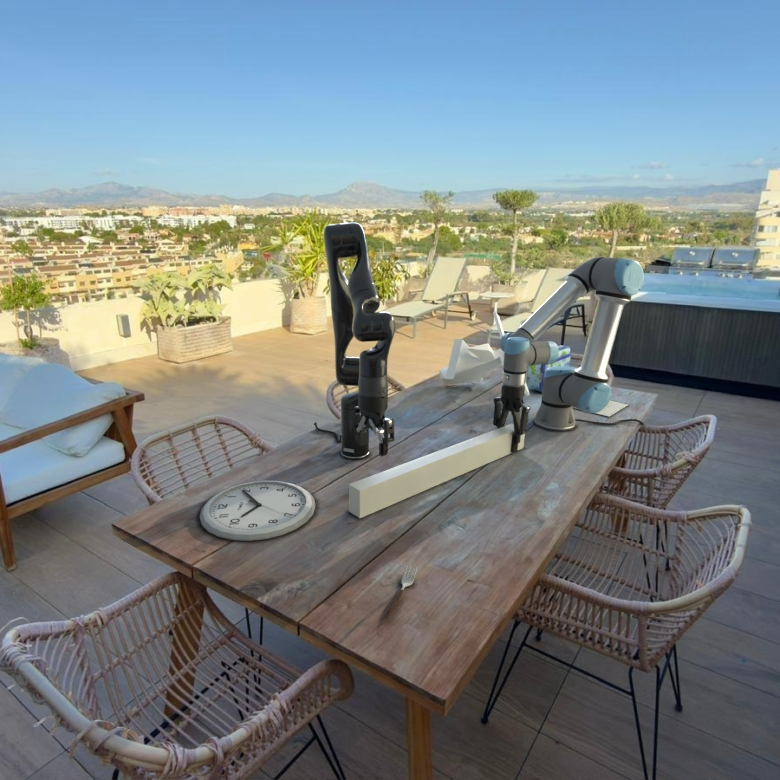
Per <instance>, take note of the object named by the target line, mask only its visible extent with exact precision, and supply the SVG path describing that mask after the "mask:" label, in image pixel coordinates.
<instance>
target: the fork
mask: <svg viewBox="0 0 780 780" xmlns="http://www.w3.org/2000/svg"><path fill="white" fill-rule="evenodd" d="M408 566H409V565H408V563H407V564H406V567H405V570H404V572H403V575H402V578H401V580H400V581H401V583H400V584H401V585H402V587H401V588H400V590H399V591H398V593H397V594H396V596H395V597H394V599H393V600H392V604H391V606H390V608H389V611H388V614H387V616H386V620H388V619H389V618H390V617H391V615H392V613H393V612H394V610H395V609H396V607H397V606H398V605H399V604H400V601H401V598H402V595H403V592H404V590H405V588H407V587H409V586H412V585H413V583H414V581H415V578H416V573H417V569H418V566H416V567H415V566H414V565H411V564H410V566H409V568H408ZM411 566H412V569H411ZM414 567H415V570H414ZM410 571H411V572H410Z"/></svg>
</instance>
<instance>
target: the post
mask: <svg viewBox="0 0 780 780" xmlns="http://www.w3.org/2000/svg"><path fill="white" fill-rule="evenodd" d="M514 433H515V432H514V424H513V422H512V423H510V424H508V425H505V426H504V427H501V428H499V429H498V428H496V429H493V430H491V431H488V432H485V433H482V434H479V435H478V436H474V437H472V438H468V439H467V440H464V441H461V442H458V443H456V444H453V445H450V446H448V447H444V448H442V449H439V450H436V451H434V452H432V453H429V454H426V455H423V456H421V457H418V458H415V459H412V460H410V461H408V462H407V461H406V462H404V463H402V464H400V465H396V466H394V467H391V468H388V469H386V470H383V471H381V472H378V473H375V474H372V475H370V476H367V477H365V478H361V479H359V480H356V481H353V482H351V483H348V512H349V513H351V514H352V515H354V516H356V517H357V518H358V519H362V518H365V517H367V516H370V515H372V514H374V513H376V512H379V511H380V510H383V509H386V508H388V507H391V506H392V505H395V504H397V503H400V502H402V501H404V500H406V499H409V498H410V497H413V496H416V495H418V494H420V493H422V492H424V491H427V490H430V489H432V488H434V487H437V486H439V485H441V484H444V483H446V482H448V481H451V480H452V479H455V478H457V477H459V476H461V475H464V474H467V473H468V472H471V471H474V470H476V469H478V468H480V467H483V466H485V465H487V464H489V463H493V462H494V461H496V460H499V459H501V458H504V457H507V456H509V455H511V454H513V453H512V452H511V444H512V434H514ZM525 436H526V433H525V434H523V435H521V438H520V443H518V449H517V451H520V450H522V449H524V446H525V438H526V437H525ZM517 451H516V452H517Z"/></svg>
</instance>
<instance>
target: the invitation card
mask: <svg viewBox="0 0 780 780" xmlns="http://www.w3.org/2000/svg"><path fill="white" fill-rule="evenodd" d="M628 406H629V404H627V403H623V402H618V401H614V400H610V401H609V403H608V404H607V405H606V407H605V408H603V409H602V410H601V411H599V412H597V413H595V414H596V415H600V416H604V417H608V418H609V417H611V416H613V415H614V414H616V413H617V412H619V411H621V410H623V409H624V408H626V407H628ZM573 409H575V410H579V409H578V408H575V407H573Z"/></svg>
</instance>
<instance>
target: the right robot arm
mask: <svg viewBox="0 0 780 780" xmlns="http://www.w3.org/2000/svg"><path fill="white" fill-rule="evenodd" d="M563 281H564V283H562V284H561V285H560V286H559V287H558V289H556V290H555V292H553V293H552V294H551V296H549V297H548V298H547V299H546V300H545V301H544V302H543V303H542V304H541V305H540V306H539V307H538V308H537V309H536V310H535V311H534V312H533V313H532V315H530V316H529V317H528V318H527V319H526V320H525V321H524V322H523V323H522V324H521V325H520V326H519V327H518V328H517V329H515V331H514V332H505V333H504V335H503V336H502V338H500V340H499V347H500V348H501V350H502V351H504V366H503V367H502V378H501V379H502V380H501V381H502V382H501V383H502V384H501V388H500V390H501V391H500V394H501V396H498V397H494V398H493V405H494V406H493V407H494V408H493V418H492V419H493V420H492V425H493V426H495V427H496V429H499V428H501V427H504V426H506V422H507V419H508V416H509V413H511V416H512V423H513V424H514V432H515V433H514V434H512V444H511V452H512V453H511V454H513V453H515V452H517V449H518V443H520V438H521V435H523V434H525V435H526V434H527V432H528V423H529V413H530V411H531V406H530V405H526V404H525V401H524V397H525V393H524V391H525V386H524V384H525V382H526V383H527V370H528V366H530V365H540V364H548V363H553V362H555V361H556V360H557V358H558V356H559V349H558V346H557V345H558V344H557V343H556V342H554V341H553V340H543V341H541V340H538V339H539V338H541V336H542V335H543V334H544V333H545V332H546V331H548V329H550V327H551V326H552V325H553V324H555V322H556V321H557V320H558V319H559V318H560V317H562V316H563V314H565V312H567V311H568V309H569V308H571V306H572V305H574V303H575V302H576V301H578V299H580V298H584V297H586V296H587V295H588V294H589V293H591V292H593V291H595V292H594V296H595V298H596V300H597V303H596V307H595V311H594V314H593V318H592V323H591V326H590V330H589V334H588V336H587V337H588V338H587V341H586V343H585V348H584V352H583V356H582V360H581V363H580V367H578V368H577V367H574V366H570V367H567V366H555V367H549V368H547V369H546V370H545V375H544V380H543V390H542V393H541V402H540V405H539V407H538V410H537V411H536V413H535V417H534V424H535V425H536V426H537V427H539V428H542V429H544V430H549V431H556V432H567V431H572V430H574V429H575V428H576V422H581V423H587V424H595V425H602V426H615V425H618V424H619V423H626V422H637V423H639V424H640V425H643V426H644V425H645V424H644V422H643V421H641V420H639V419H637V418H627V419H619V420H617V421H615V422H603V421H602V422H600V421H594V420H593V421H592V420H586V419H580V418H575V417H576V416H575V413H574V409H576V408H578V409H577V410H579V411H581V412H586V413H588V414H596V413H597V412H599V411H601V410H602V409H603V408H605V407H606V405H607V404H608V403H609V401H611V399H612V388H611V386H610V385H609V384H608V381H609V377H608V375H607V373H606V372H607V368H608V365H609V361H610V358H611V353H612V350H613V346H614V343H615V340H616V336H617V333H618V332H617V331H618V329H619V324H620V321H621V317H622V314H623V312H624V311H623V310H624V307H625V306H626V304H628V303H630V302H631V300H632V297H633V296H635V295H638V293H639V291H641V290H642V288H643V285H644V282H645V272H644V269H643V267H642V264H640V262H639V261H637V260H635V259H630V258H627V257H625V258H624V257H608V256H607V257H606V256H596V257H593V258H590V259H588V260H586V261H584V262H582V263H581V264H579V265H578V266H577V267H576V268H574V269H573V270H571V272H569V274H568V275H566V277H565V278H564V280H563ZM500 348H499V349H500ZM574 407H575V408H574Z"/></svg>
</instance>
